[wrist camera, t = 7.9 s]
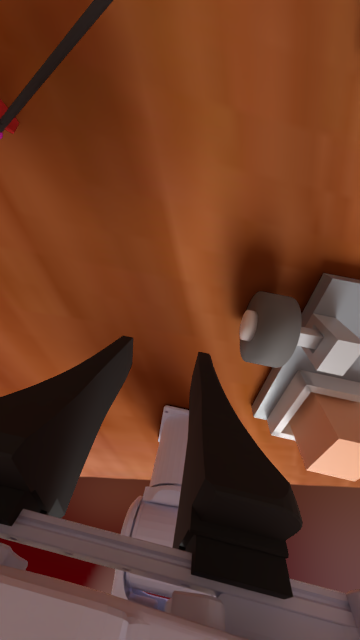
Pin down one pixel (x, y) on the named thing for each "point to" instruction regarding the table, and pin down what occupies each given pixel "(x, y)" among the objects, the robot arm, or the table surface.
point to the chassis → (317, 356)
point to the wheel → (274, 330)
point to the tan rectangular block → (329, 435)
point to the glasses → (51, 64)
